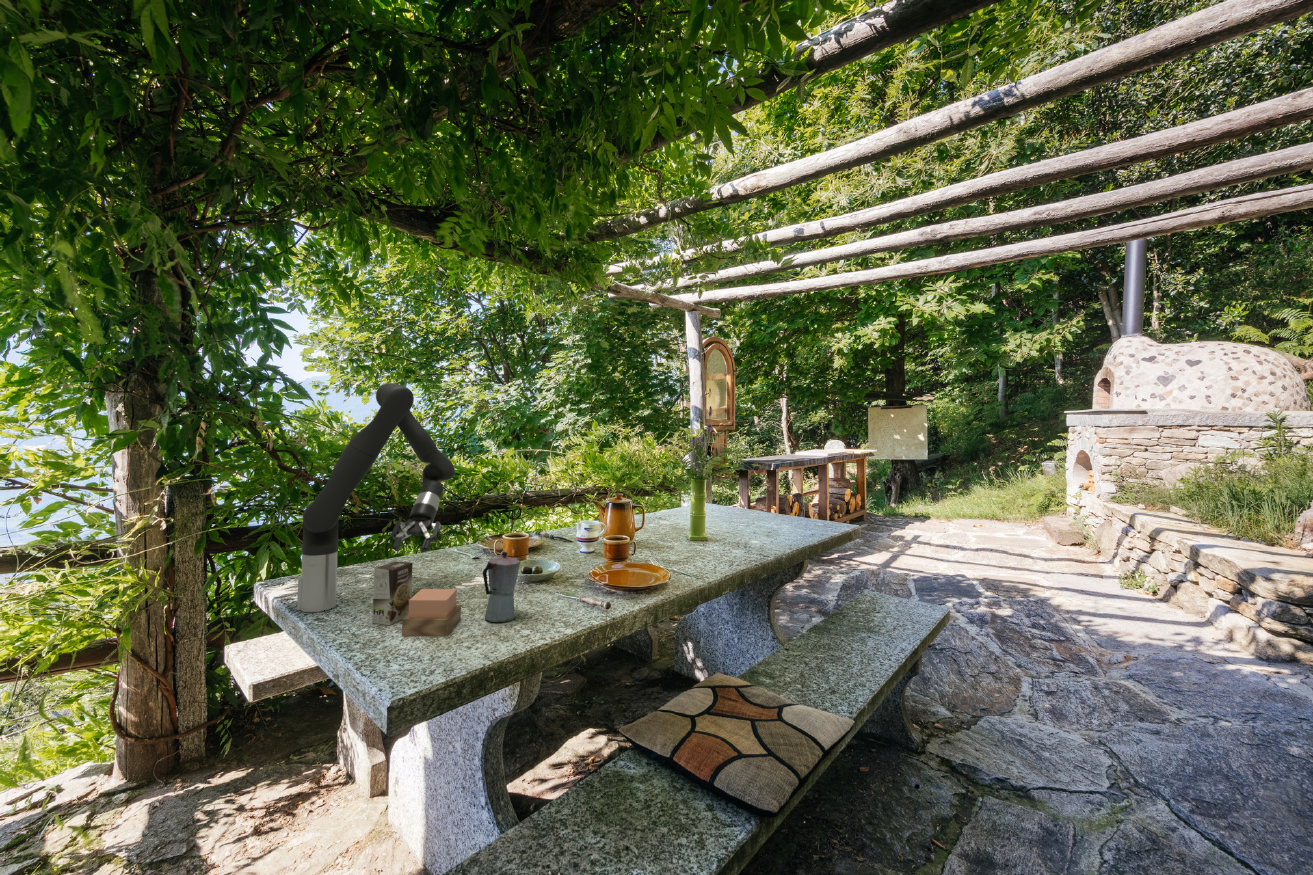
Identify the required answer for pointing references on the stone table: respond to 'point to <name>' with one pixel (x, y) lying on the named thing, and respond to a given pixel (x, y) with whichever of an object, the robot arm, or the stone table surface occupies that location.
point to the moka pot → (501, 588)
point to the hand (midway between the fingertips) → (409, 550)
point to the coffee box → (392, 592)
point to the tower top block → (432, 603)
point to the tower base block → (431, 624)
